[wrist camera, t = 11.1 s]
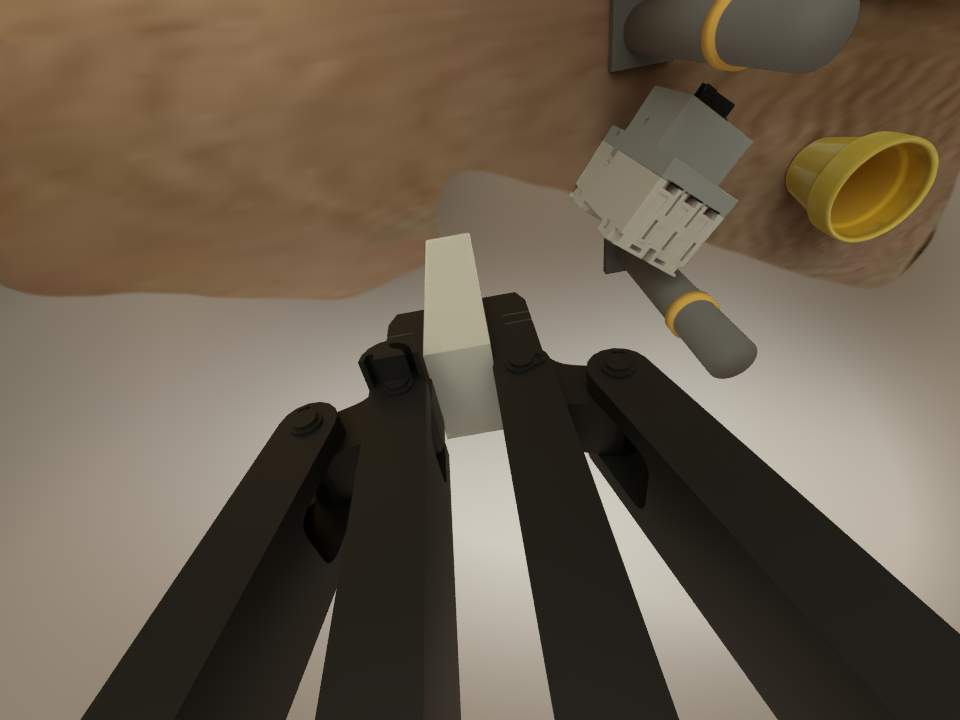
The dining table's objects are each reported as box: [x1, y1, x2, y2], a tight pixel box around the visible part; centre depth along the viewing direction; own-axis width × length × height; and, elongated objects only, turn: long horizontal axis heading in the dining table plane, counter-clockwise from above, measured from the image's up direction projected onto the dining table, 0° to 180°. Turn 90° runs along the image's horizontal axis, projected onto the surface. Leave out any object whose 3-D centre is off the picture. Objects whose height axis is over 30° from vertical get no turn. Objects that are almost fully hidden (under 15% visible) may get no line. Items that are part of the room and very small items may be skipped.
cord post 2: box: [604, 238, 757, 379], centre depth 45 cm, size 6×6×24 cm
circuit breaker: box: [569, 83, 753, 277], centre depth 42 cm, size 8×14×15 cm, turn 152°
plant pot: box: [785, 131, 939, 243], centre depth 47 cm, size 10×10×10 cm
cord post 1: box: [609, 0, 860, 74], centre depth 32 cm, size 6×6×24 cm
